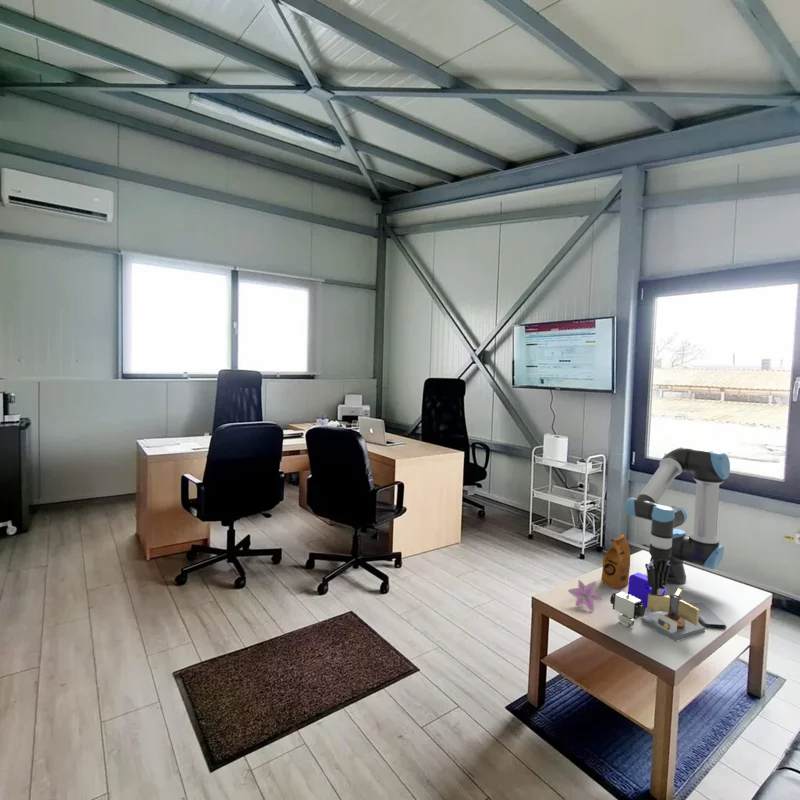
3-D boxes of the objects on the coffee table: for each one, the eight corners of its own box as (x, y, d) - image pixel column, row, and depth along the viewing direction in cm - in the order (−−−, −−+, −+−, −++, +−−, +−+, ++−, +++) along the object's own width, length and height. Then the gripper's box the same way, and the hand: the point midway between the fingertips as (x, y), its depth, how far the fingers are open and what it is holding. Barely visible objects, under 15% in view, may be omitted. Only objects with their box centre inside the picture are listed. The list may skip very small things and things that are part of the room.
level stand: (670, 614, 193) (671, 601, 192) (704, 632, 180) (706, 618, 180) (640, 622, 186) (641, 608, 185) (673, 642, 173) (674, 627, 172)
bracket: (652, 611, 195) (654, 583, 194) (627, 599, 204) (629, 573, 203) (674, 600, 205) (677, 574, 204) (649, 590, 214) (652, 564, 213)
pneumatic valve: (637, 633, 178) (640, 602, 177) (608, 618, 187) (610, 589, 186) (645, 628, 181) (647, 598, 180) (615, 614, 190) (618, 586, 189)
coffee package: (597, 582, 219) (600, 536, 218) (611, 575, 227) (615, 531, 225) (617, 590, 211) (621, 543, 210) (632, 584, 219) (635, 537, 217)
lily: (563, 601, 202) (565, 587, 196) (580, 586, 207) (583, 572, 202) (587, 622, 193) (590, 608, 188) (605, 605, 198) (608, 591, 193)
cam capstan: (639, 607, 193) (641, 583, 192) (678, 612, 190) (680, 588, 190) (654, 630, 176) (656, 604, 175) (697, 635, 174) (700, 609, 173)
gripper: (663, 540, 192) (658, 596, 194) (640, 544, 187) (635, 601, 188) (680, 547, 185) (675, 605, 187) (657, 551, 180) (652, 611, 182)
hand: (655, 603), depth 188 cm, fingers closed
